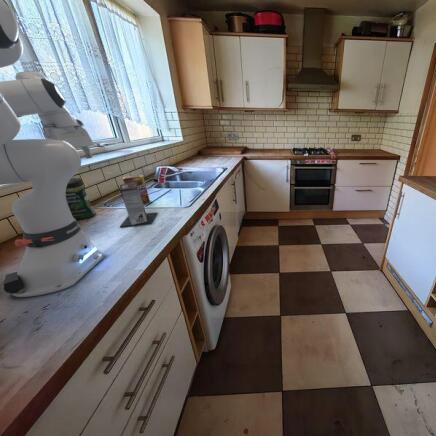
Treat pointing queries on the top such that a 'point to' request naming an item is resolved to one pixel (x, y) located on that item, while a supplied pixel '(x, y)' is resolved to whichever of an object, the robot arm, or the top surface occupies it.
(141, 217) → the coffee box
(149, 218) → the mat
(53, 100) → the robot arm
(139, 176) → the candy box
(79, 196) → the dark green food bag
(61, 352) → the top surface
